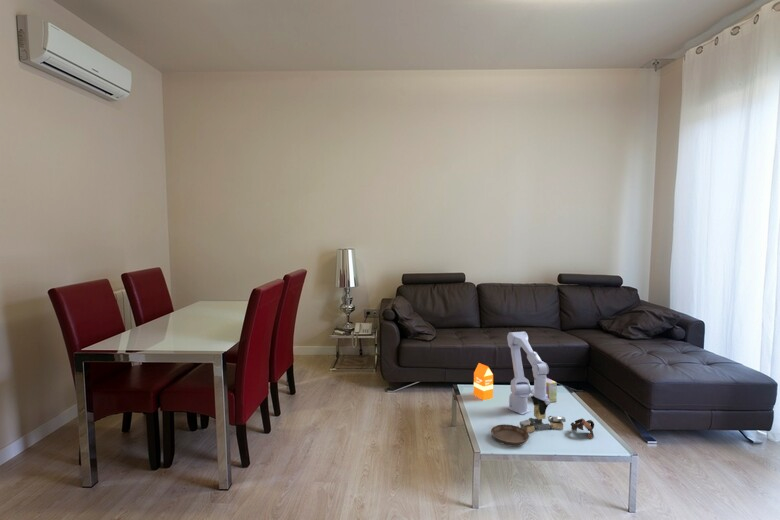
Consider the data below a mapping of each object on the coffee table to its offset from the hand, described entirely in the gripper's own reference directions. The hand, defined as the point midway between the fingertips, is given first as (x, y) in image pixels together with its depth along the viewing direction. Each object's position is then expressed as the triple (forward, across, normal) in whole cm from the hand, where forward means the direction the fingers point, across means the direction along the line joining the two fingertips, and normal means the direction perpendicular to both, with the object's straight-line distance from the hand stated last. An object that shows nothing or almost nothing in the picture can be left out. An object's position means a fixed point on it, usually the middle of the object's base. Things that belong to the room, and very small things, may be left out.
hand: (539, 412), depth 197 cm
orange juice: (+8, +41, +12) cm, 43 cm away
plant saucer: (+8, -8, +21) cm, 23 cm away
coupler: (+3, 0, 0) cm, 3 cm away
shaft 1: (+7, -2, +8) cm, 11 cm away
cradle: (+7, 0, 0) cm, 7 cm away
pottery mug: (+8, -11, -17) cm, 22 cm away
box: (+8, +30, -24) cm, 39 cm away
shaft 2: (+7, -2, -8) cm, 11 cm away
